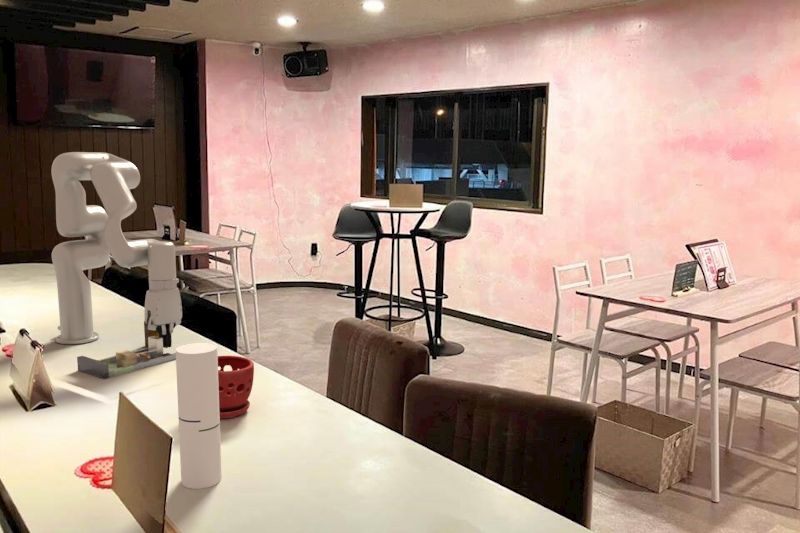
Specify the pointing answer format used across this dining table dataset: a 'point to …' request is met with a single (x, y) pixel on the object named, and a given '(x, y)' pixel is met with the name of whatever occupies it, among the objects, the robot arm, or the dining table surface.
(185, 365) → the cylindrical container
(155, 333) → the condiment
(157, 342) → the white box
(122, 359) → the beech block
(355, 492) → the dining table surface
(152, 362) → the tray
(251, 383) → the plant pot
